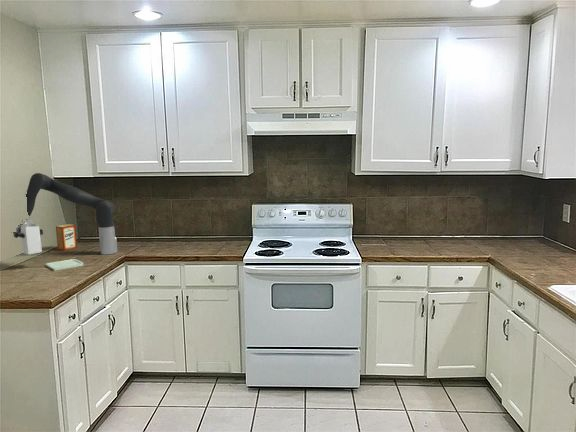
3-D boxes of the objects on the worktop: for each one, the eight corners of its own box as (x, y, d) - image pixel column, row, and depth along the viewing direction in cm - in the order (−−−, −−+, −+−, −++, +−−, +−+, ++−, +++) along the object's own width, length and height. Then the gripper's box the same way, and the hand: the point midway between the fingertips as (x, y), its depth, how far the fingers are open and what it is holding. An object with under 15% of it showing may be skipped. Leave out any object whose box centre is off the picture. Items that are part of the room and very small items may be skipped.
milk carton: (36, 250, 256) (33, 218, 253) (41, 252, 252) (38, 219, 249) (23, 253, 251) (19, 219, 248) (28, 254, 246) (24, 221, 244)
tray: (74, 260, 265) (74, 258, 265) (84, 265, 254) (84, 263, 254) (45, 265, 254) (45, 263, 254) (54, 270, 243) (53, 268, 243)
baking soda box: (64, 250, 293) (61, 226, 291) (57, 249, 296) (55, 225, 294) (76, 247, 301) (75, 224, 299) (70, 246, 304) (68, 223, 302)
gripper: (9, 226, 255) (16, 230, 243) (37, 223, 264) (45, 226, 253) (10, 239, 256) (17, 243, 244) (38, 235, 266) (46, 239, 254)
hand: (31, 234), depth 248 cm, fingers closed on milk carton, 8 cm apart
